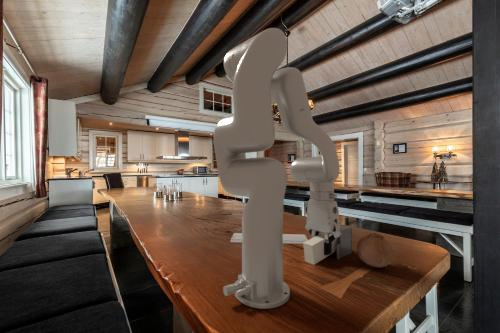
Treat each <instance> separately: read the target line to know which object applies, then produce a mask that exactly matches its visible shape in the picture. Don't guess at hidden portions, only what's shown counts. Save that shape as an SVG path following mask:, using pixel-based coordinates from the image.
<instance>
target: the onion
mask: <svg viewBox="0 0 500 333" xmlns="http://www.w3.org/2000/svg"><path fill="white" fill-rule="evenodd" d="M356 253H357V255H358V257H359V259H360V261H363V263H365V264H366V265H368V266H369V267H371V268H379V269H382V268H383V267H385V268H386V267H387V266H388V265H389V264H390V263H391V262H392V261H393V257H394V251H393V247H392V245H391V243H390V242H389V241H388V240H387V239H386V238H385V236H383V235H381V234H379V233H376V232H372V233H369V234H367V235H365V236H363V237H361V238H360V239H359V240H358V242H357V245H356Z"/></svg>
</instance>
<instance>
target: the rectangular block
mask: <svg viewBox="0 0 500 333" xmlns="http://www.w3.org/2000/svg"><path fill="white" fill-rule="evenodd" d="M334 234H335V232H334V231H333V235H334ZM324 242H325V235H324V232H323V233H322V232H320V234H319V235H317V236H315V237H313V238H310V239H308V241H306V242H304V243H303V244H302V245H303V253H304V261H305V262H307V263H309V264H312V265H316V264H318V263H319V262H321V261H323V260H324V259H326V258H327V257H328V256H330V255H332V254H333V253H335V252H337V242H338V238H336V239H335V240H334V241H333V242H332V252H331V254H329V255H324Z"/></svg>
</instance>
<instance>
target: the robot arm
mask: <svg viewBox="0 0 500 333" xmlns="http://www.w3.org/2000/svg"><path fill="white" fill-rule="evenodd" d="M287 51H288V39H287V37H286V34H285V32H284V31H283V30H282V29H280V28H277V27H269V28H266V29H265V30H262V31H261V32H259V33H257V34H256V35H253V36H252V37H250V38H248V39H247V40H245V41H243V42H242V43H240V44H238V45H237V46H235V47H233V48H232V49H230V50H229V51H228V52H227V53H226V54H225V56H224V58H223V68H224V71H225V74H226V76H227V77H228V79H229V80H231V82H232V102H233V109H234V110H233V112H234V114H233V115H229V116H226V117H224V118H221V119H220V120H219V121H218V122H217V124H216V125H215V127H214V131H213V148H214V154H215V161H216V167H217V172H218V178H219V182H220V184H221V187H222V188H223V190H224V191H225V192H226V193H228V194H229V195H232V196H238V197H247V198H248V200H247V202H246V204H245V206H244V208H243V211H242V216H241V233H242V243H241V273H240V274H238V275H237V280H235V281H234V283H230V284H227V285H224V286H223V287H222V292H223V295H224V296H226V297H229V296H230V295H233V294H234V296H235V298H236V299H237V300H238V301H239V302H240V303H241V304H243V305H245V306H247V307H250V308H254V309H260V310H263V309H264V310H266V309H269V310H270V309H274V308H279V307H281V306H283V305H284V304H285V303H287V302H288V301H289V300H290V296H291V289H290V286H289V285H288V284H287V283H286V282H284V244H283V234H284V230H283V229H284V224H283V222H284V221H283V218H284V216H283V215H284V202H285V194H286V191H287V190H286V189H287V184H288V173H287V168H286V167H285V165H284V164H283V163H282V162H281V161H280V160H278V159H276V158H273V157H267V156H266V157H265V156H264V157H263V156H258V157H249V158H248V157H246V154H249V153H259V152H265V151H267V150H269V149H271V148H272V146H273V145H274V143H275V140H276V130H275V121H274V113H273V105H275V104H276V106H277V110H278V114H279V116H280V121H281V124H282V128H283V130H284V131H285V132H286V133H288V134H291V135H292V136H295V137H298V138H300V139H303V140H306V141H308V142H309V143H311V144H312V145H313V146H315V148H316V149H317V150H318V151H319V153H320V156H310V157H299V158H296V159H294V160H293V161H292V162H291V164H290V166H289V167H290V168H289V173H290V175H291V177H292V178H293V179H294V180H296V181H297V182H301V183H302V182H307V183H309V200H308V201H307V202H308V203H307V208H306V209H307V210H306V223H305V225H304V228H305V229H306V230H307V232H308V233H309V235H310V237H311V238H313V237H315V236H317V235H319V234H321V233H322V232H324V235H325V242H324V255H329V254H330V255H332V254H331V252H332V242H333V241H334V240H335V239H336V238H338V237H341V236H342V234H341V232H340V225H341V220H340V212H339V206H338V202H337V201H335V199H337V198H338V195H337V193H335V185H334V184H335V181H336V180H337V179H338V178H339V175H340V169H341V168H340V161H339V156H338V151H337V147H336V144H335V143H334V141H333V139H332V138H331V136H330V135H329V134H328V133H327V132H326V131H325V130H324V129H323V128H322V127H321V126H320V125H318V124H317V123H316V122H315V121H314V119H313V115H312V111H311V107H310V101H309V96H308V93H307V90H306V86H305V82H304V77H303V74H302V72H301V71H300V69H299V68H297V67H292V66H289V67H283V68H279V67H280V65H282V63H283V62H284V61H285V58H286V56H287V53H288V52H287ZM278 68H279V69H278ZM333 231H334V232H335V234H334V235H333ZM311 238H310V239H311ZM330 255H329V256H330Z"/></svg>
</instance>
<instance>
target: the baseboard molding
mask: <svg viewBox="0 0 500 333" xmlns="http://www.w3.org/2000/svg"><path fill="white" fill-rule="evenodd" d="M308 240H309V239H308V237H307V236H306V234H301V233H300V234H297V233H296V234H295V233H294V234H293V233H289V234H288V233H283V245H303V243H304V242H306V241H308ZM233 243H234V244H235V243H236V244H242V232H232V233H231V237H230V240H229V244H233Z"/></svg>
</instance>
